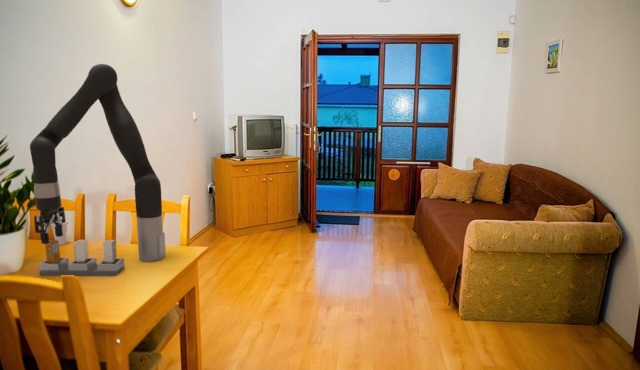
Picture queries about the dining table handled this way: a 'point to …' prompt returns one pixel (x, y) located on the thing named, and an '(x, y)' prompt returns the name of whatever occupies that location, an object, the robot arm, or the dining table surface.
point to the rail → (85, 262)
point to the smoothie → (63, 238)
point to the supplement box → (52, 251)
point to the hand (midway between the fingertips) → (52, 239)
